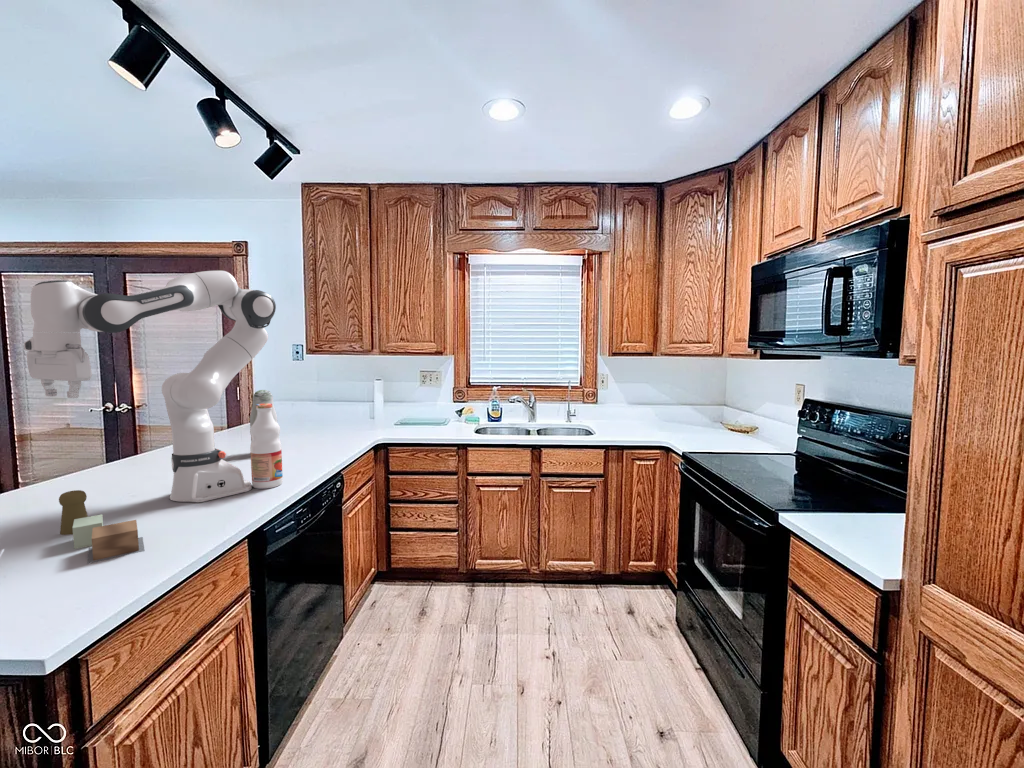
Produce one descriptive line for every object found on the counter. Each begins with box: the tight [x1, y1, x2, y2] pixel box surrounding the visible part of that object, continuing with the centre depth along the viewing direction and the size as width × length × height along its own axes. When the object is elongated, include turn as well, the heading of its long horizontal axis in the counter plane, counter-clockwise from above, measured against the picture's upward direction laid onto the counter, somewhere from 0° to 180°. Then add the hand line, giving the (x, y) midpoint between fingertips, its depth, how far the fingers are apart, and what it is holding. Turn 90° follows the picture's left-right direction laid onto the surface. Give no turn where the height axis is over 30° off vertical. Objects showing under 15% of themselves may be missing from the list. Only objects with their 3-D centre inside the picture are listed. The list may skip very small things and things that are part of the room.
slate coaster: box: [86, 536, 145, 565], centre depth 111 cm, size 10×10×1 cm
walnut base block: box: [91, 519, 139, 561], centre depth 110 cm, size 8×8×5 cm
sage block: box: [72, 514, 104, 550], centre depth 115 cm, size 5×7×6 cm
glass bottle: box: [249, 389, 278, 443], centre depth 204 cm, size 10×10×28 cm
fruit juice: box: [249, 403, 284, 490], centre depth 161 cm, size 9×9×28 cm
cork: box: [58, 489, 89, 536], centre depth 121 cm, size 6×6×11 cm
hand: (62, 397), depth 123 cm, fingers open, 8 cm apart
